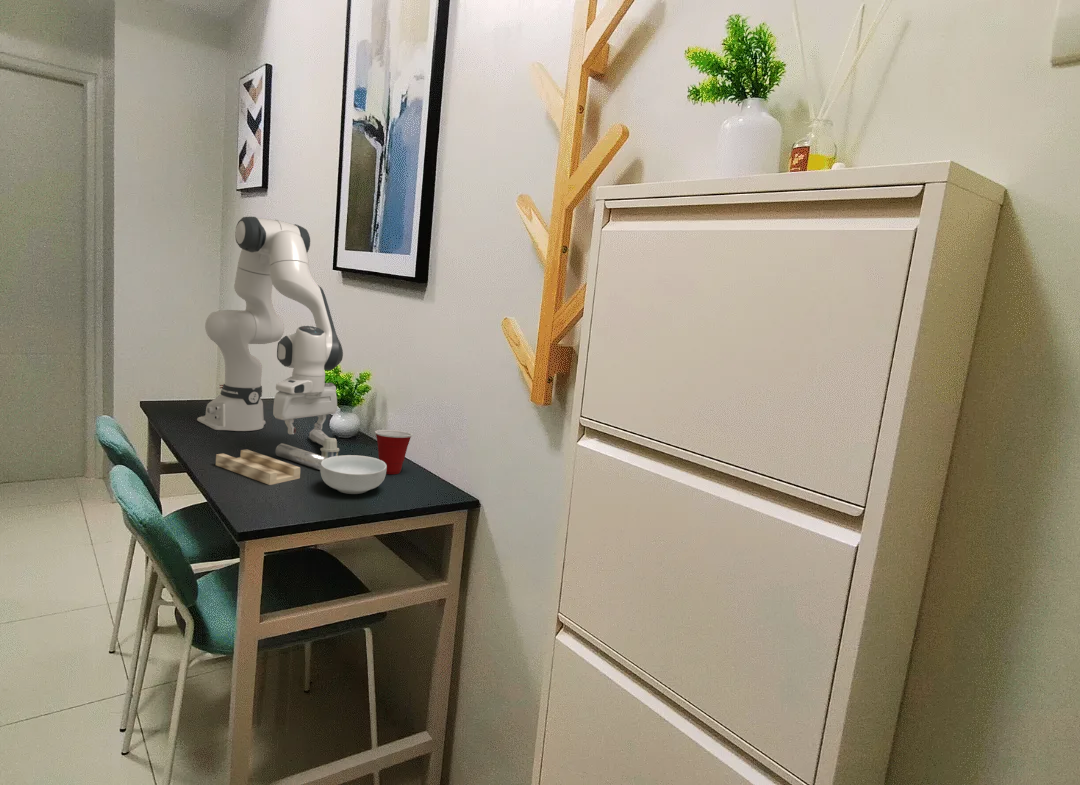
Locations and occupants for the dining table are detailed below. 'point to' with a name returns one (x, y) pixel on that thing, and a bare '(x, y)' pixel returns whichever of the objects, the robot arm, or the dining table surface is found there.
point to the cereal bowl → (353, 473)
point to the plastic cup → (392, 448)
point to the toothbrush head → (324, 443)
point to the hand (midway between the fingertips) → (305, 431)
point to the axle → (299, 455)
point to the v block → (259, 467)
